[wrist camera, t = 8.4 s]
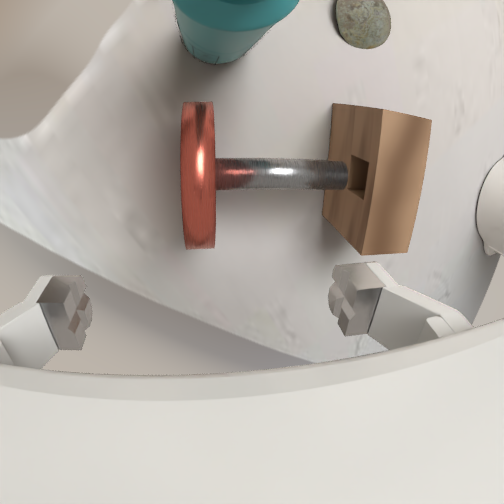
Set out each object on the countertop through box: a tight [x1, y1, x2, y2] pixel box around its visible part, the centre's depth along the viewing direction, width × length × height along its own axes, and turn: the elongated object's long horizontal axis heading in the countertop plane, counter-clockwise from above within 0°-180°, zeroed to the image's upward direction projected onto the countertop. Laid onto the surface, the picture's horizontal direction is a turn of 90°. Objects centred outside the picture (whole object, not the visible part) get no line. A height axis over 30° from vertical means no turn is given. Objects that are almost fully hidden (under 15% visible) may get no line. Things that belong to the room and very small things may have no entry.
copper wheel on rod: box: [180, 102, 348, 250], centre depth 24 cm, size 12×11×11 cm
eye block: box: [322, 103, 432, 255], centre depth 27 cm, size 5×12×9 cm, turn 178°
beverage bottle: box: [172, 0, 299, 65], centre depth 14 cm, size 6×7×20 cm
